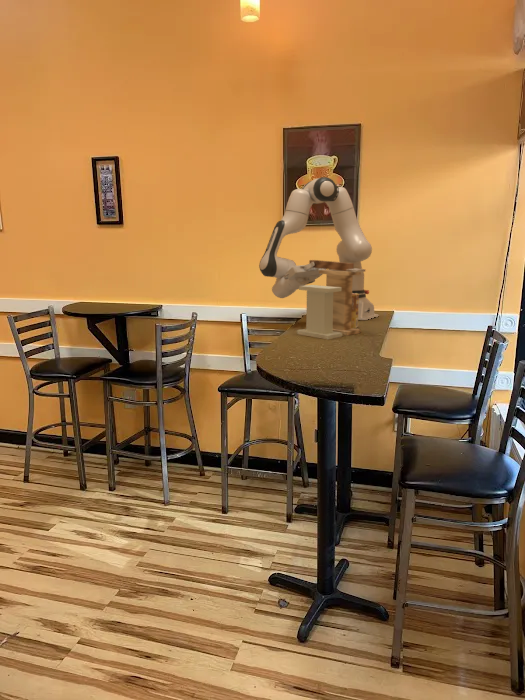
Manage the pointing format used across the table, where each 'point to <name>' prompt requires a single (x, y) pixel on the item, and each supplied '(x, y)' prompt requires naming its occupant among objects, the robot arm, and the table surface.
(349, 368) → the table surface
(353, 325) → the candy box
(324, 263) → the scraper
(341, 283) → the tall pedestal
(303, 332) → the short pedestal
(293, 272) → the robot arm
